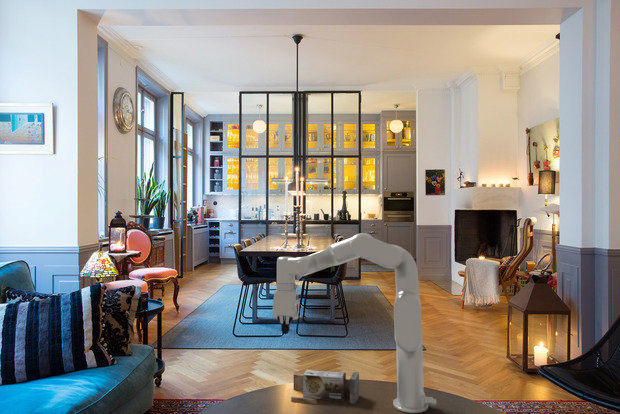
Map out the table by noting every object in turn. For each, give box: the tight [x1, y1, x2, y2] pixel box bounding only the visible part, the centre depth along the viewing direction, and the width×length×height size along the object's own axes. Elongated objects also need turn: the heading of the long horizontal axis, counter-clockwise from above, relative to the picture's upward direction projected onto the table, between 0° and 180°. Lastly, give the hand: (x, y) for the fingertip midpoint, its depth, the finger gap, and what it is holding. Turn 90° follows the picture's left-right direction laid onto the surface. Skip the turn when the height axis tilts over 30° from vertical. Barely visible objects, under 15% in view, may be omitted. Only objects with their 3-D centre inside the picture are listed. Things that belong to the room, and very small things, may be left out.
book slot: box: [290, 371, 360, 405], centre depth 163 cm, size 27×13×9 cm, turn 73°
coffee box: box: [302, 369, 347, 402], centre depth 164 cm, size 9×6×16 cm
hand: (285, 333), depth 168 cm, fingers closed
